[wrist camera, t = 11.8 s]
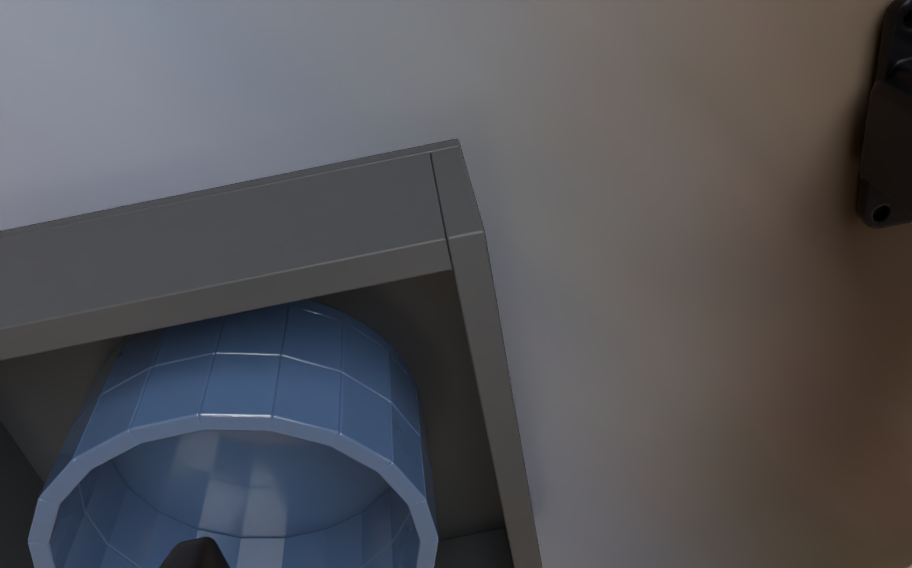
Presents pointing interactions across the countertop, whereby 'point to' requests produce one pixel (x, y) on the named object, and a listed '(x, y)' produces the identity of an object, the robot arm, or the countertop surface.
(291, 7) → the countertop surface
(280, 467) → the rice bowl
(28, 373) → the tote
